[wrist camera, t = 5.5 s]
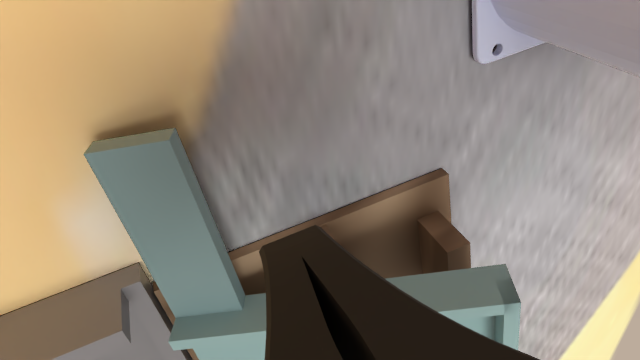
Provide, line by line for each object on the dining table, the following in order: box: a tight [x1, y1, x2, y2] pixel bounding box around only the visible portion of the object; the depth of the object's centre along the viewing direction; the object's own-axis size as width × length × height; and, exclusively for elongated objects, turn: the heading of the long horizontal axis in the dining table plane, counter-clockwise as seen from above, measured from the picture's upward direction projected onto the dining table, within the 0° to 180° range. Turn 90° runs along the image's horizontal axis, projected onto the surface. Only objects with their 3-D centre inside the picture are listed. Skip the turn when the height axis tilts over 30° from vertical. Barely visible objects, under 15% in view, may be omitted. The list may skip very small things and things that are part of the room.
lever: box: [84, 128, 521, 360], centre depth 19 cm, size 14×14×2 cm
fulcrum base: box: [153, 168, 471, 360], centre depth 24 cm, size 15×8×4 cm, turn 102°
